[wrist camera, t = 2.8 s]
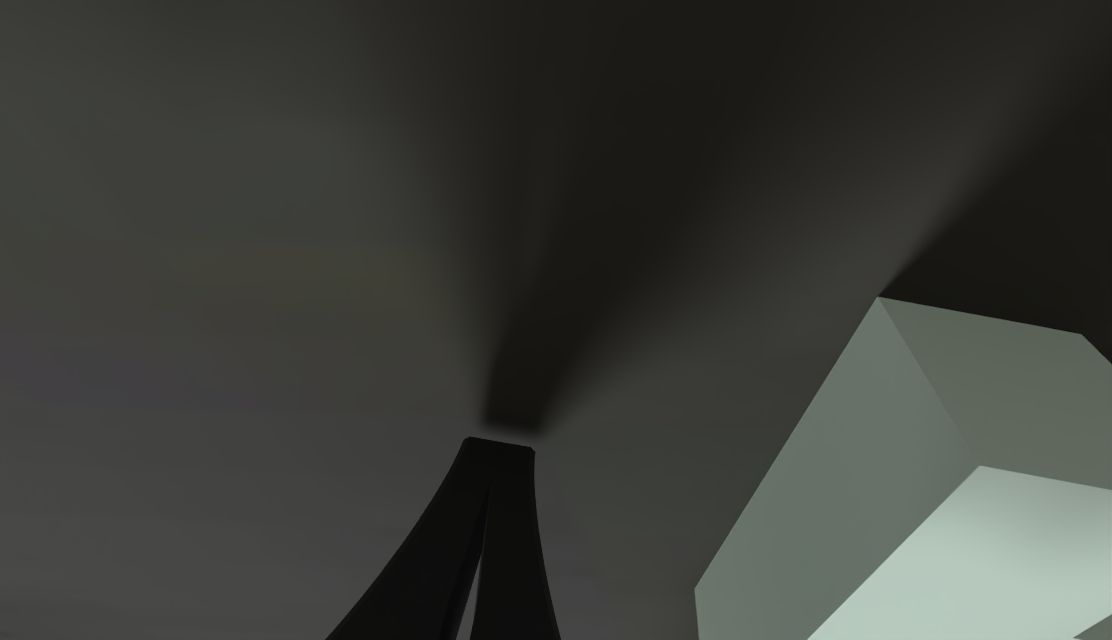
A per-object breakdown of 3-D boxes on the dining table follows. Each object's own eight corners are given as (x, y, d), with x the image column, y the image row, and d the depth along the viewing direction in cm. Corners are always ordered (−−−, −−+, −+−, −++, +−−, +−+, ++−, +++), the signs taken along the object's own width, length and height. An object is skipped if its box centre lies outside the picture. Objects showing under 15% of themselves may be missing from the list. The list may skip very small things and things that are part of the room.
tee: (1031, 649, 16) (1116, 812, 13) (694, 587, 16) (708, 739, 13) (1427, 400, 10) (1755, 610, 7) (876, 295, 9) (979, 465, 7)
